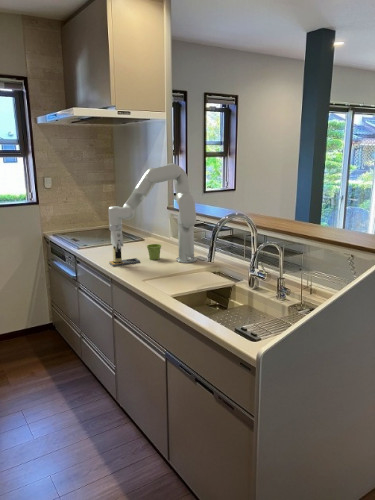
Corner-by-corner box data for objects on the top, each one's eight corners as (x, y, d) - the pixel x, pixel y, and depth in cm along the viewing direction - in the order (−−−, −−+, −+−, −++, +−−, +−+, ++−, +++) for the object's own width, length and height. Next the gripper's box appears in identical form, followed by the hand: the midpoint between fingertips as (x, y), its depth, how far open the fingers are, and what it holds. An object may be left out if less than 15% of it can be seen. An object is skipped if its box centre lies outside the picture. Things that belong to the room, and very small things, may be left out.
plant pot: (144, 260, 251) (143, 246, 249) (151, 256, 260) (150, 243, 258) (158, 261, 248) (157, 247, 246) (164, 257, 256) (164, 244, 254)
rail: (136, 259, 252) (136, 257, 252) (140, 262, 246) (139, 260, 246) (109, 263, 245) (109, 261, 244) (112, 266, 239) (112, 264, 238)
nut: (121, 261, 242) (121, 248, 240) (115, 262, 240) (114, 249, 238) (119, 259, 246) (119, 247, 244) (113, 260, 244) (112, 247, 242)
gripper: (126, 229, 232) (127, 259, 237) (117, 224, 247) (119, 253, 251) (113, 230, 229) (115, 261, 234) (105, 225, 244) (107, 254, 248)
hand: (117, 256), depth 242 cm, fingers closed on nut, 4 cm apart
